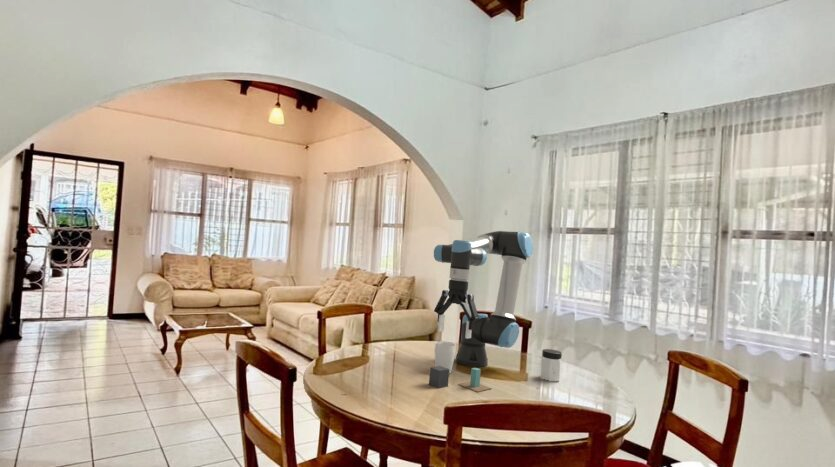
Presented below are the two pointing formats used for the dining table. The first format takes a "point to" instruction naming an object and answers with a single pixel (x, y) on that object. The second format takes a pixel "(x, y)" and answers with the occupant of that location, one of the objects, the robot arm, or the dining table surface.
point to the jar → (550, 365)
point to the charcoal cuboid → (439, 376)
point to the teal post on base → (475, 381)
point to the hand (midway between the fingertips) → (453, 334)
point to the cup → (445, 354)
